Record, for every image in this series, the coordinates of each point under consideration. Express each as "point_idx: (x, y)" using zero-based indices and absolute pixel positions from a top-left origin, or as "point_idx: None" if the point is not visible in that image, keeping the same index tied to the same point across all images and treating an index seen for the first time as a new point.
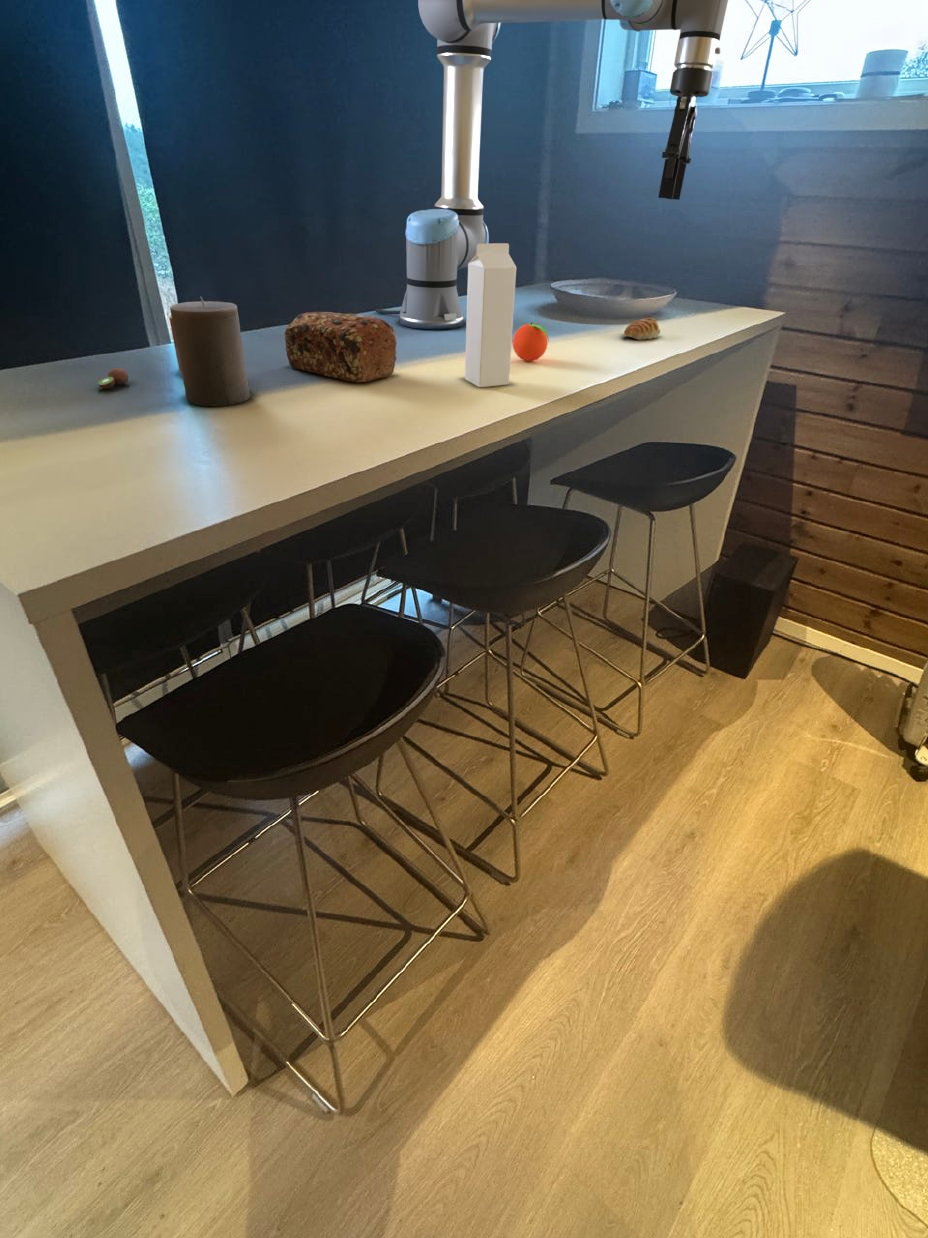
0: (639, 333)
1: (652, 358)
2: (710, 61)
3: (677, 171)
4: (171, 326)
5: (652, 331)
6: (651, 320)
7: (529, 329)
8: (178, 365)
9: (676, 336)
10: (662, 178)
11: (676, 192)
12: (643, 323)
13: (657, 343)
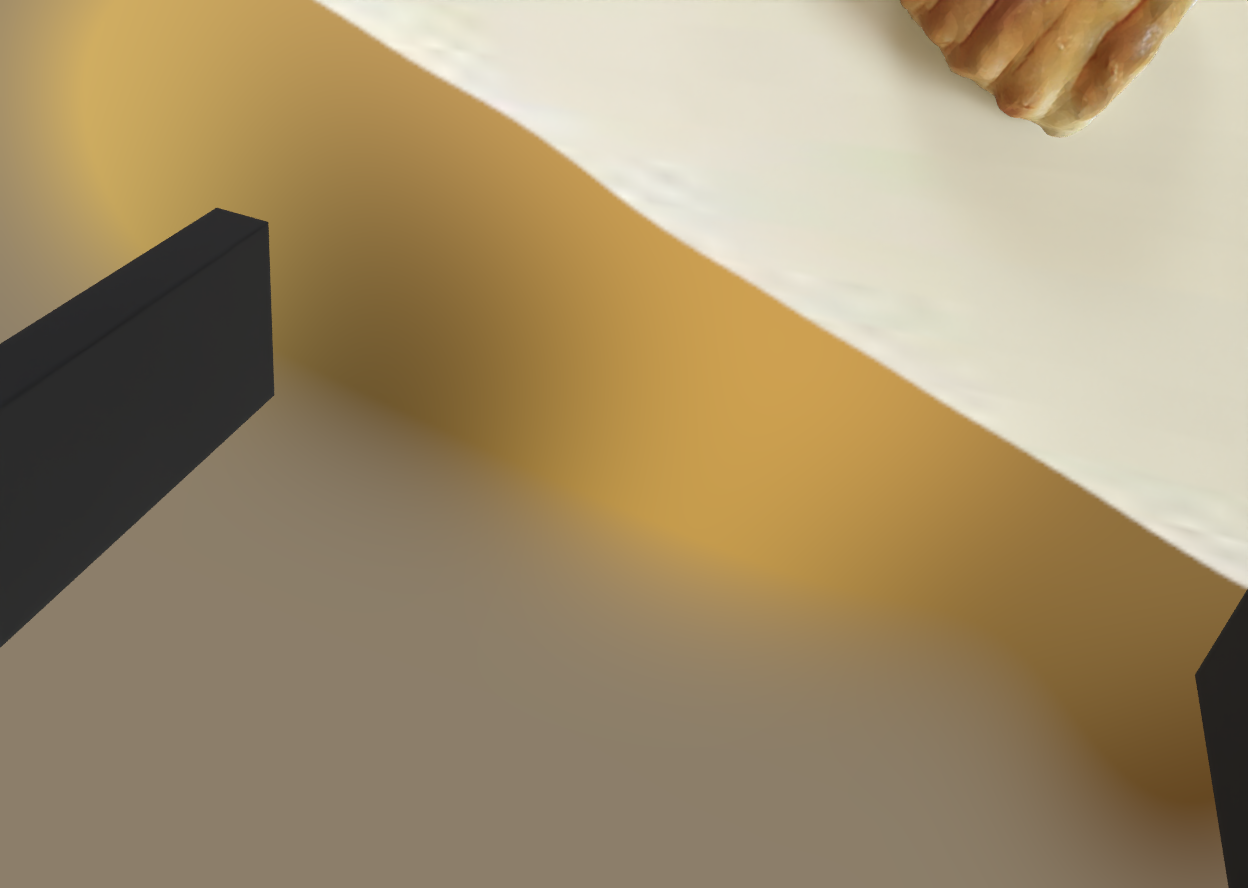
0: None
1: (429, 17)
2: None
3: (43, 588)
4: None
5: (951, 69)
6: (1088, 77)
7: None
8: None
9: (1110, 251)
10: (44, 324)
11: (1240, 696)
12: (969, 2)
13: (839, 89)
